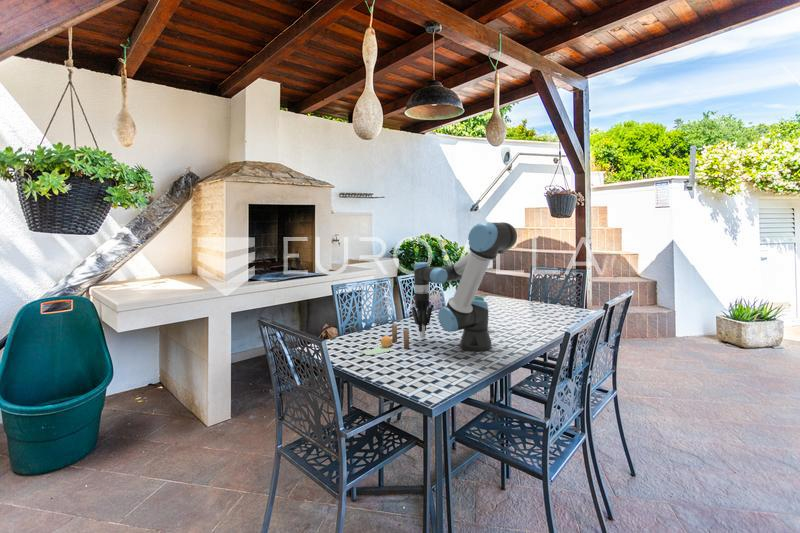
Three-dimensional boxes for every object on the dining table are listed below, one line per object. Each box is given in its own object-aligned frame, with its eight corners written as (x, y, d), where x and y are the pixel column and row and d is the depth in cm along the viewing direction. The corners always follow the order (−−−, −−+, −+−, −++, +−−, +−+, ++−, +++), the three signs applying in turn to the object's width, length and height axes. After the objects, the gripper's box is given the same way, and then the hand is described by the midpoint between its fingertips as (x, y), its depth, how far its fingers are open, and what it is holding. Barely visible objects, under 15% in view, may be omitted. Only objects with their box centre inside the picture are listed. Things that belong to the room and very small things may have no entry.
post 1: (398, 341, 197) (397, 324, 196) (393, 342, 196) (393, 325, 195) (395, 340, 199) (395, 323, 198) (391, 341, 198) (391, 324, 197)
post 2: (410, 348, 186) (409, 330, 185) (405, 349, 184) (405, 330, 184) (407, 346, 188) (407, 329, 187) (402, 347, 187) (402, 329, 186)
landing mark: (394, 350, 182) (394, 350, 182) (367, 355, 176) (367, 355, 176) (381, 343, 195) (381, 343, 195) (356, 347, 188) (356, 347, 188)
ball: (390, 335, 186) (381, 341, 184) (395, 344, 187) (385, 350, 185) (386, 332, 191) (377, 338, 189) (391, 341, 192) (381, 347, 191)
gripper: (428, 290, 202) (429, 333, 204) (407, 292, 196) (408, 337, 198) (436, 292, 195) (437, 337, 197) (414, 294, 189) (415, 341, 191)
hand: (422, 337), depth 198 cm, fingers closed
